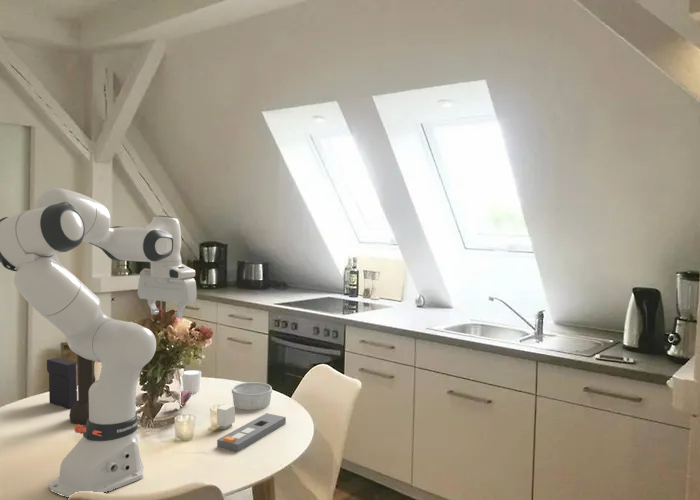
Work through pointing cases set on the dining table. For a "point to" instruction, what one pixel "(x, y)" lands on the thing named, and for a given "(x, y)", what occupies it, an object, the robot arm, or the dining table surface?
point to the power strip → (251, 432)
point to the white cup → (191, 380)
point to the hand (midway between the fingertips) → (166, 315)
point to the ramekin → (251, 395)
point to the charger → (225, 416)
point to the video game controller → (185, 397)
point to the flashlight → (83, 391)
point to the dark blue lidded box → (62, 382)
